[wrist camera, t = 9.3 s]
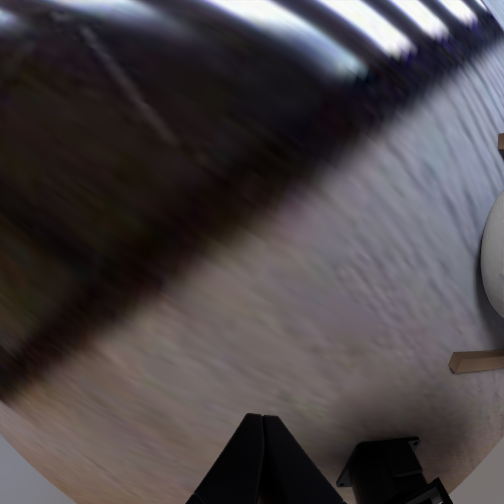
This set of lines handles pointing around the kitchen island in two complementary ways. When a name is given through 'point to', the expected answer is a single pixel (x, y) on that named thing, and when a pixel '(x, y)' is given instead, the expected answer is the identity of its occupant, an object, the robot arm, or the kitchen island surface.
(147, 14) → the kitchen island surface
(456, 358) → the frame
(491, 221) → the teacup
